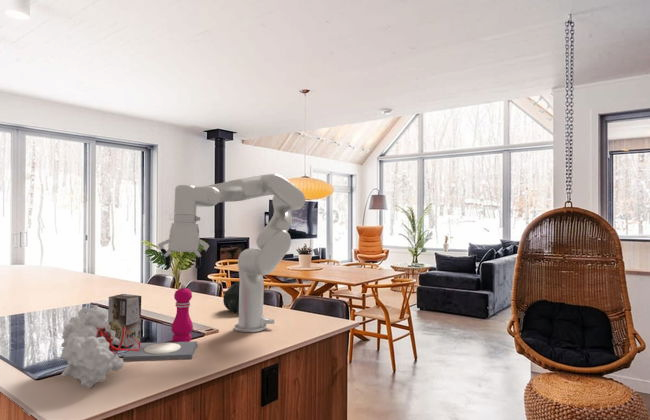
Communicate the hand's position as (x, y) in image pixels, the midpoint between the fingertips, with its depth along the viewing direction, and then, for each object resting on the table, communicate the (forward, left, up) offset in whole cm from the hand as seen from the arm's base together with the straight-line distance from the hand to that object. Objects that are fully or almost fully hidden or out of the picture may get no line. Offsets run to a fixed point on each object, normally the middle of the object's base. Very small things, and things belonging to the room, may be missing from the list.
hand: (182, 267), depth 151 cm
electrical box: (+19, +1, -26) cm, 32 cm away
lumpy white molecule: (+18, +31, -26) cm, 44 cm away
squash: (-19, -45, -26) cm, 56 cm away
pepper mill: (0, 0, -26) cm, 26 cm away
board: (+4, +13, -26) cm, 29 cm away
